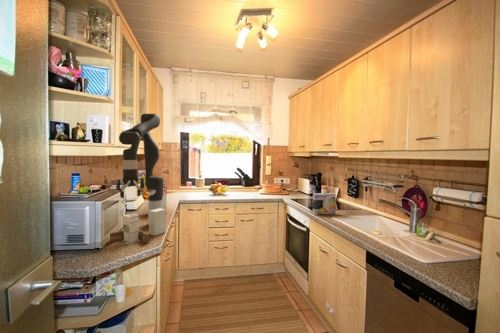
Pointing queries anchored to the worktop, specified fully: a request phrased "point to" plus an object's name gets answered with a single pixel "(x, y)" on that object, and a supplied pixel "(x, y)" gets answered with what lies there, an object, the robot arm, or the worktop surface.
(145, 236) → the arena
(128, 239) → the syrup box
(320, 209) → the cake pan box
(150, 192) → the cracker box
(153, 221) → the skincare box
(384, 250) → the worktop surface
